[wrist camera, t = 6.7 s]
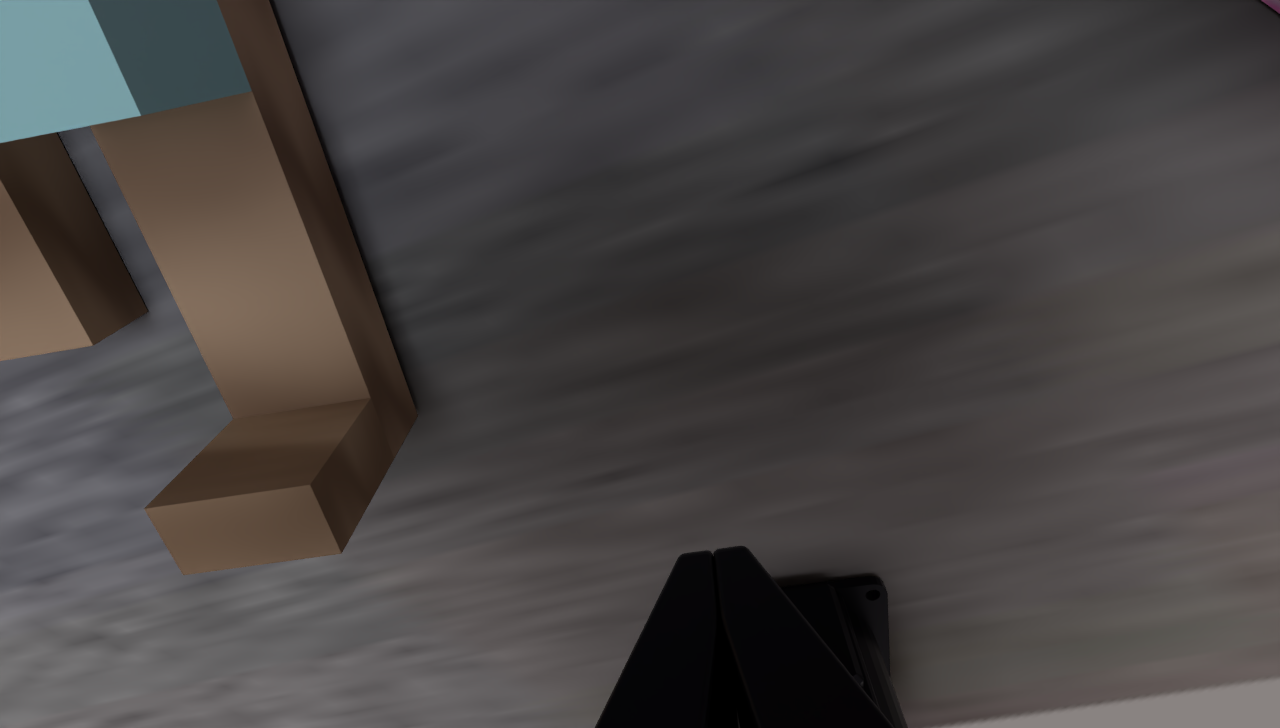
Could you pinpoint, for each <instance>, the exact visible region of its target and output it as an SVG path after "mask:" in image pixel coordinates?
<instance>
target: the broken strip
mask: <svg viewBox="0 0 1280 728" xmlns="http://www.w3.org/2000/svg"><path fill="white" fill-rule="evenodd" d="M147 312H148V311H147V309H146V307H145V305H144V303H143V301H142V299H141V297H140V295H139V293H138V291H137V289H136V287H135V285H134V283H133V281H132V279H131V277H130V275H129V273H128V271H127V270H126V268H125V266H124V264H123V262H122V260H121V258H120V256H119V254H118V252H117V250H116V248H115V246H114V244H113V242H112V240H111V238H110V236H109V234H108V232H107V230H106V228H105V227H104V225H103V223H102V221H101V219H100V217H99V215H98V213H97V211H96V209H95V207H94V205H93V203H92V201H91V199H90V197H89V195H88V193H87V191H86V189H85V187H84V186H83V184H82V182H81V180H80V178H79V176H78V174H77V172H76V170H75V168H74V166H73V164H72V162H71V160H70V158H69V156H68V154H67V152H66V150H65V148H64V146H63V144H62V143H61V141H60V139H59V137H58V135H57V133H56V132H54V133H49V134H44V135H39V136H34V137H29V138H24V139H18V140H13V141H8V142H3V143H0V361H3V360H9V359H15V358H21V357H27V356H33V355H39V354H45V353H51V352H57V351H63V350H69V349H75V348H81V347H87V346H93V345H95V344H96V343H98V342H100V341H101V340H103V339H105V338H106V337H108V336H109V335H111V334H113V333H114V332H116V331H118V330H119V329H121V328H122V327H124V326H126V325H127V324H129V323H130V322H132V321H134V320H135V319H137V318H139V317H140V316H142V315H143V314H145V313H147Z"/></svg>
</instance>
